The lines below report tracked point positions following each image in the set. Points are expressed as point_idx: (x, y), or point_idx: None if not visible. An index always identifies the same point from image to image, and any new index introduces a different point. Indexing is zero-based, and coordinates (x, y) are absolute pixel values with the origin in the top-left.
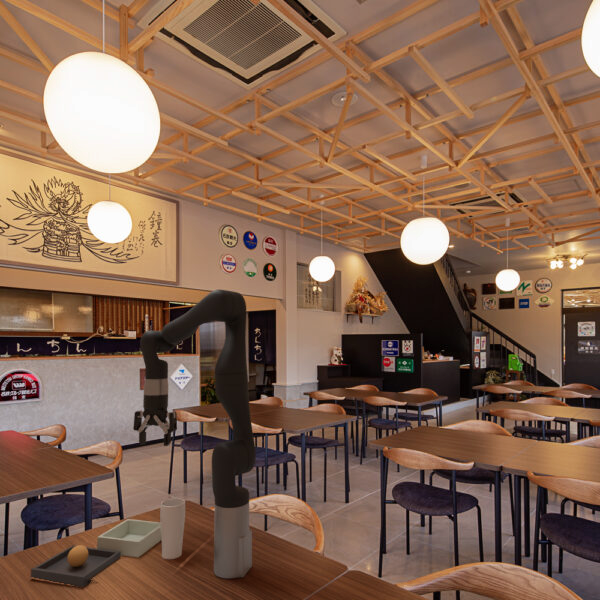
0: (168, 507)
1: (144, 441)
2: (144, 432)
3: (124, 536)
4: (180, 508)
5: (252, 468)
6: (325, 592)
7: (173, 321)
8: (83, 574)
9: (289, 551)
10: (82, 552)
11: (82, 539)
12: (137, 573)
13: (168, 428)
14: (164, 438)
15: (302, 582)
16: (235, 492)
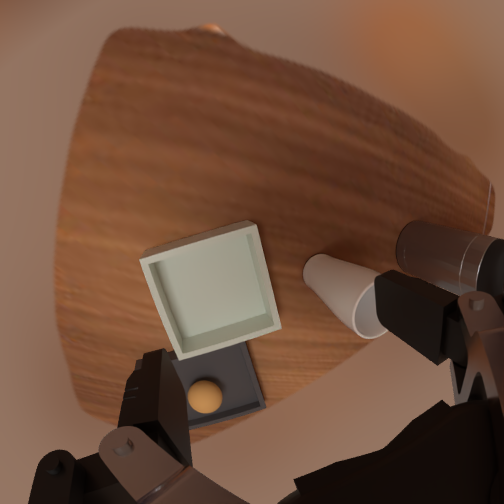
0: (383, 332)
1: (171, 376)
2: (176, 445)
3: (159, 271)
4: None
5: None
6: (487, 232)
7: None
8: (239, 393)
9: (445, 157)
10: (220, 402)
11: (83, 313)
12: (302, 336)
13: (485, 329)
14: (417, 344)
15: (473, 226)
16: None
